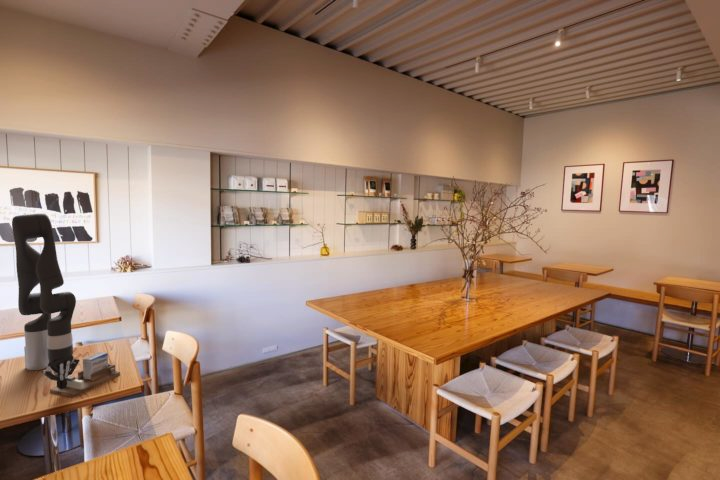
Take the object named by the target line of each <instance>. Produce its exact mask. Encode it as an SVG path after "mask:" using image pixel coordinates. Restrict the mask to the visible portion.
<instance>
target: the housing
mask: <svg viewBox="0 0 720 480" xmlns="http://www.w3.org/2000/svg"><path fill="white" fill-rule="evenodd" d="M119 375H121V372H120V371H116V364H113V363H108V367H107V368H105V369H103V370H100V371H98V372H96V373H94V374H92V375H91V380H90V379H84V376H83V369H82V370H80V371H78V372H77V376H75V379H77V380H82V381H84V388H83V389H81V390H80V389H76V388H71V387H66V388H64V389H59V388H57V385H56V386H54V387H52V388H50V389H49V392H50V393H51V394H57V395H61V396H65V397H71V398H75V397H78V396H79V395H81V394H83V393H85V392H87V391H89V390H91V389H94V388H96V387H98V386H99V385H102V384H104V383H106V382H109V381H110V380H112V379H113V378H116V377H118V376H119Z"/></svg>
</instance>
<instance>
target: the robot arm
mask: <svg viewBox="0 0 720 480" xmlns="http://www.w3.org/2000/svg"><path fill="white" fill-rule="evenodd" d="M11 228H12V234H13V240H14V245H15V246H14V247H15V258H16V259H15V262H16V276H17V283H18V298H17V299H18V311H19V313H20V315H22V316H32V315H40V316H38V317H36V318H35V319H32V320H30V321H28V322H27V323H25V324H24V327H23V328H24V329H23V330H24V342H25V346H24V362H25V363H24V364H25V367H24V368H26V370H27V371H38V370H39V371H40V370H41V374H42V375H43V376H45V377H46V378H48V379H49V380H51V381H56V386H57V388H59V389H64V388H66V386H67V377H69V376H72V374H73V373H74V371H75V370H76V367H77V366H78V365H79V364H80V359H78V358H74V356H73V354H74V344H73V334H72V319H73V315H74V312H75V308H76V304H77V298H76V296H75V295H74V293H73V292H70V291H63V292H55V293H53V290H55V289H57V288H60V287H62V286H63V285H64V284H65V282H64V277H63V275H62V272H61V268H60V265H59V261H58V255H57V249H56V241H55V237H54V230H53V226H52V222H51V219H50V218H49V216H48V215H47V214H46V213H34V214H32V213H31V214H20V215H15V216H13V218H12V220H11ZM38 238H43V247H42V250H41V252H39V251H38V250H36V249H35V248H33V247H32V246H31V245H30V243H28V241H27V240H30V239H38ZM38 285H39V286H40V287H39V292H34V293H33V292H32V291H33V289H34V288H36V287H37V286H38ZM31 292H32V293H31ZM56 313H59V314H58V315H57V316H55V317H52V314H56Z"/></svg>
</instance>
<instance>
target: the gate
mask: <svg viewBox="0 0 720 480" xmlns="http://www.w3.org/2000/svg"><path fill="white" fill-rule="evenodd" d="M75 378H76V376H73V375H69V376H68V377H67V386H66V387H71V388H76V389H80V390H81V389H83V388H84V381H82V380H77V379H75Z"/></svg>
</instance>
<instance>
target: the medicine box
mask: <svg viewBox="0 0 720 480" xmlns="http://www.w3.org/2000/svg"><path fill="white" fill-rule="evenodd" d="M108 364H109V353H107V352H104V351H99V352H97V353H95V354H93V355H89V356H88V357H84V358H83V359H82V370H83V376H84V379H90V380H91V375H92V374H94V373H96V372H98V371H100V370H103V369H105V368H107V367H108Z"/></svg>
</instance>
